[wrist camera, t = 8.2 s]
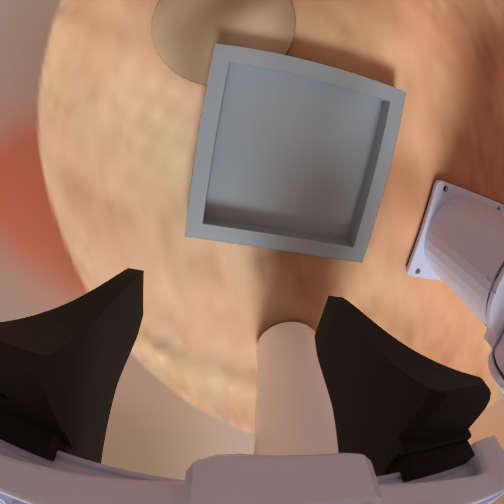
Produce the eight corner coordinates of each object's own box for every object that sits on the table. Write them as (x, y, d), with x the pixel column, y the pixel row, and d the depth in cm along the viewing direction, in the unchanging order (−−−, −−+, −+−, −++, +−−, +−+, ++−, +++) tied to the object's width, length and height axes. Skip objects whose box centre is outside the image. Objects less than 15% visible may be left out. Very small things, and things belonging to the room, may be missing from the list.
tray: (393, 92, 18) (406, 92, 17) (353, 252, 23) (361, 262, 21) (217, 49, 17) (215, 43, 15) (188, 226, 22) (184, 236, 20)
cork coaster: (304, -21, 15) (305, -23, 14) (281, 97, 18) (281, 97, 18) (169, -37, 14) (168, -39, 13) (141, 79, 17) (139, 79, 17)
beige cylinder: (243, 315, 25) (252, 499, 11) (328, 305, 25) (394, 473, 11) (250, 374, 28) (261, 530, 14) (324, 365, 28) (366, 513, 14)
